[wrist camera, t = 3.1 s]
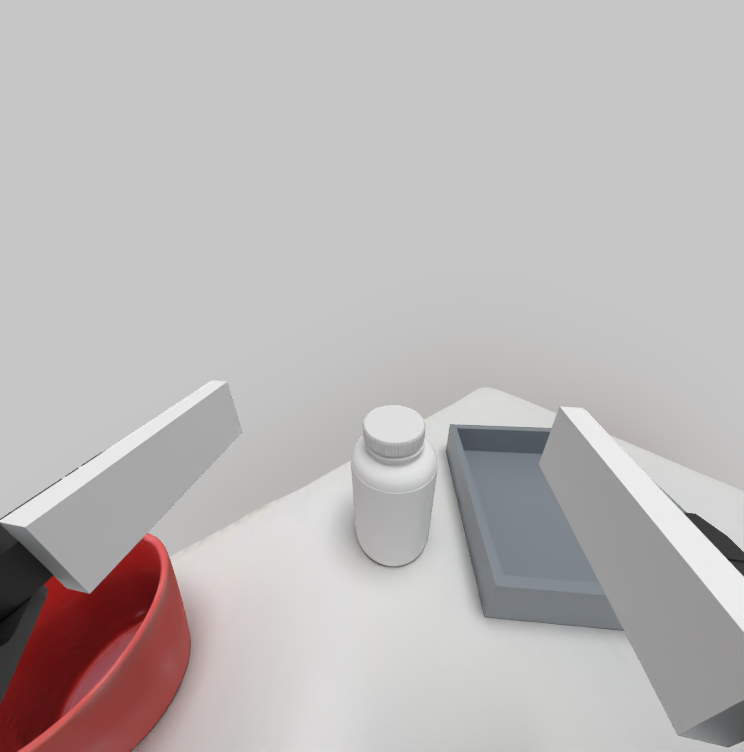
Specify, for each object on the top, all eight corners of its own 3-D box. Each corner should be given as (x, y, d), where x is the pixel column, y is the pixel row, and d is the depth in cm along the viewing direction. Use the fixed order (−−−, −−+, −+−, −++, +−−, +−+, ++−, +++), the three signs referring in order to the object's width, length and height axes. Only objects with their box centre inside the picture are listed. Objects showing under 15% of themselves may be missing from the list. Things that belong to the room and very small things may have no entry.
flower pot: (-51, 865, 14) (-255, 853, 9) (101, 609, 23) (35, 543, 19) (172, 797, 15) (87, 759, 11) (228, 584, 25) (195, 517, 21)
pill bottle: (358, 575, 25) (348, 458, 19) (354, 502, 33) (347, 398, 26) (438, 565, 26) (457, 449, 19) (417, 496, 33) (426, 393, 26)
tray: (585, 457, 39) (598, 429, 36) (746, 642, 21) (791, 611, 19) (446, 450, 40) (449, 424, 38) (484, 616, 22) (496, 585, 20)
